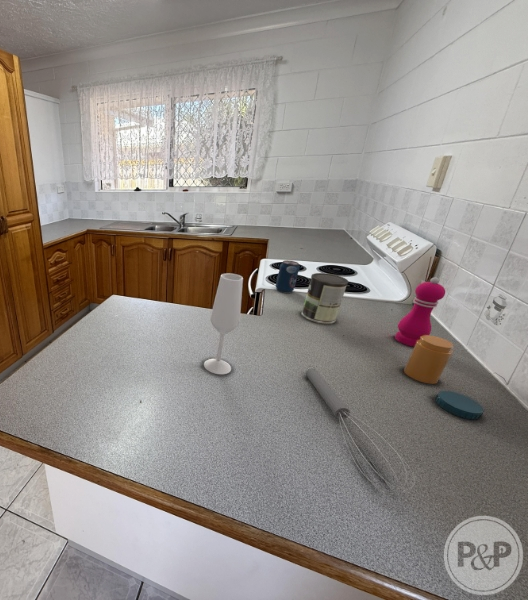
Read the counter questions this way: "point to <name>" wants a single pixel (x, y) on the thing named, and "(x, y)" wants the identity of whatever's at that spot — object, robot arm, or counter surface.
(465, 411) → the lid
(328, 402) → the kitchen whisk
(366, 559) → the counter surface
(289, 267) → the soda can
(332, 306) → the coffee can
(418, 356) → the jar
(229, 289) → the champagne flute
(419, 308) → the pepper mill
